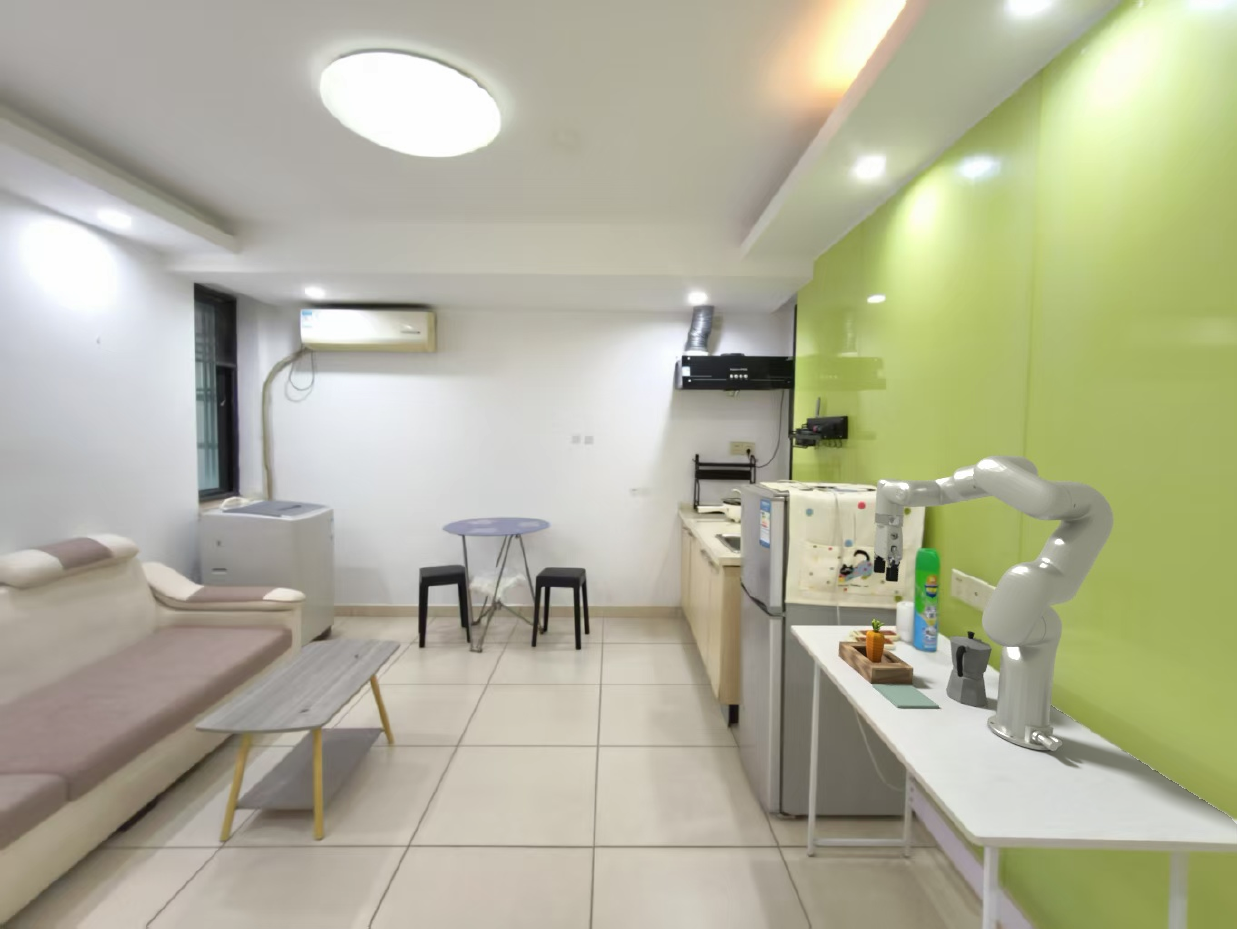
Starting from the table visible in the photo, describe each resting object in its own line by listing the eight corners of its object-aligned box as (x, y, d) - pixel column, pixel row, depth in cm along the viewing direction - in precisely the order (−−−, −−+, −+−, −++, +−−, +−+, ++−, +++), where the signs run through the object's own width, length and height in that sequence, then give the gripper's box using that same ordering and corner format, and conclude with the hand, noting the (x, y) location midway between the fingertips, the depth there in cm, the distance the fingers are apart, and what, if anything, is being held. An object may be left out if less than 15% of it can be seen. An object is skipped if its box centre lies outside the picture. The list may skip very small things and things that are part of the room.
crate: (912, 684, 140) (913, 668, 140) (871, 683, 139) (872, 667, 139) (875, 656, 158) (876, 642, 157) (838, 655, 157) (839, 641, 157)
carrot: (866, 664, 152) (869, 615, 151) (884, 669, 149) (887, 619, 148) (862, 669, 148) (865, 619, 147) (880, 674, 145) (884, 623, 144)
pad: (938, 708, 127) (938, 705, 127) (897, 707, 126) (897, 705, 126) (910, 686, 138) (910, 684, 138) (872, 686, 137) (872, 684, 137)
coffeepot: (954, 684, 141) (958, 621, 140) (994, 698, 134) (1000, 632, 133) (933, 700, 131) (938, 632, 130) (976, 716, 124) (981, 645, 123)
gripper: (915, 525, 140) (911, 585, 141) (890, 516, 157) (887, 570, 158) (886, 523, 141) (882, 583, 142) (865, 515, 158) (862, 569, 159)
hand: (885, 576), depth 150 cm, fingers open, 9 cm apart
